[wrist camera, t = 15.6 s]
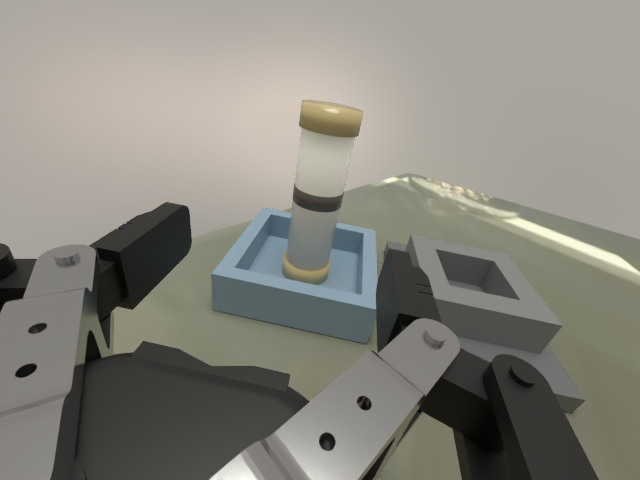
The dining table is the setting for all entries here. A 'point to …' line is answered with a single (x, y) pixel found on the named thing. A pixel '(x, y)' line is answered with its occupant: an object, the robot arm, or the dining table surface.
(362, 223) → the dining table surface
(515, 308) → the block
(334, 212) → the capped white cylinder
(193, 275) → the dining table surface
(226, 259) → the parts tray
